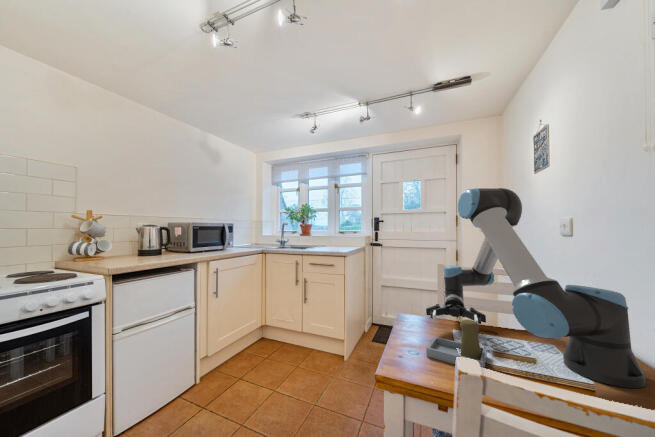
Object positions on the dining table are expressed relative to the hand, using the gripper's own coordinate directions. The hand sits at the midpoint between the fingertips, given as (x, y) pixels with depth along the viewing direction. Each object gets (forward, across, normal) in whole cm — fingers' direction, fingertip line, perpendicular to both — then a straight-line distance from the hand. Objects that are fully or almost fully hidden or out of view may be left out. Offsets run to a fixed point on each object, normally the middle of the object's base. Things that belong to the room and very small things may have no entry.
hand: (454, 321), depth 86 cm
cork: (+8, -4, -8) cm, 12 cm away
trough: (+8, 0, -8) cm, 12 cm away
